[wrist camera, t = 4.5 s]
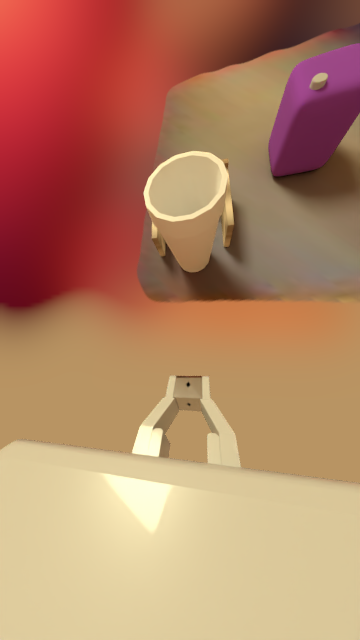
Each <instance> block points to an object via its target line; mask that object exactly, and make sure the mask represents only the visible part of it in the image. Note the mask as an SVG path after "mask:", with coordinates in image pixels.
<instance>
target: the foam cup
mask: <svg viewBox="0 0 360 640" xmlns="http://www.w3.org/2000/svg"><path fill="white" fill-rule="evenodd" d="M227 183H228V173H227V170H226V168H225V165H224V163H223V161H222V160H220V159H219V158H217V157H216V156H214V155H213V154H211V153H207V152H198V151H191V152H187V153H183V154H179V155H175V156H173V157H172V158H170V159H169V160H167V161H165V162H164V163H162V164H160V165H159V166H158V168H157V169H156V170H155V171H154V172H153V173H152V175H151V176H150V177H149V178H148V181H147V184H146V187H145V190H144V198H145V203H146V207H147V210H148V212H149V215H150V217H151V219H152V222H153V224H154V225H155V226H156V227H157V228H158V230H159V231H160V233H161V235H162V236H163V238H164V240H165V241H166V243H167V245H168V246H169V248H170V250H171V252H172V253H173V255H174V257H175V258H176V260H177V262H178V263H179V265H180V266H181V267H182V268H183V270H185V271H188V272H198V271H200V270H202V269H204V268H205V266H206V265H207V264H208V262H209V258H210V254H211V250H212V246H213V242H214V238H215V234H216V230H217V226H218V222H219V217H220V216H221V215H222V212H223V208H224V203H225V198H226V191H227Z"/></svg>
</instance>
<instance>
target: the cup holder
mask: <svg viewBox="0 0 360 640" xmlns="http://www.w3.org/2000/svg"><path fill="white" fill-rule="evenodd" d="M222 161H223V163H224V165H225V168H226V170H227V173H228V158H227V159H223V160H222ZM221 222H222V233H223V244H224V247H229V245H230V241H231V236H232V232H233V228H234V218H233V209H232V200H231V191H230V182H229V173H228V183H227V191H226V198H225V203H224V208H223V212H222V215H221ZM152 240H153V242H154V244H155V246H156V248H157V250H158V252H159V254H160V256H165V240H164V238H163V236H162V235H161V233H160V231H159V230H158V228H157V227H156V226H155V225H154V224H153V222H152Z"/></svg>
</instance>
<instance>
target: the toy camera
mask: <svg viewBox="0 0 360 640" xmlns="http://www.w3.org/2000/svg"><path fill="white" fill-rule="evenodd" d="M359 113H360V43H359V44H353V45H349V46H346V47H342V48H339V49H336V50H333V51H330V52H327V53H324V54H321V55H318V56H315V57H312V58H309V59H307V60H304V61H302V62H300V63H299V64H298V65H296V67H295V68H294V69H293V71H292V73H291V75H290V77H289V79H288V82H287V85H286V88H285V91H284V94H283V97H282V101H281V104H280V107H279V110H278V113H277V117H276V120H275V123H274V126H273V130H272V133H271V137H270V140H269V157H270V165H271V171H272V174H273V175H274V176H285V175H290V174H295V173H300V172H306V171H311V170H315V169H318V168H320V167H322V166H323V165H324V164H325V163H326V162H327V161H328V159H329V158H330V157H331V155H332V154H333V152H334V151H335V149H336V148H337V146H338V145H339V143H340V142H341V140H342V139H343V137H344V136H345V134H346V133H347V131H348V130H349V128H350V126H351V125H352V123H353V122H354V120H355V119H356V117H357V116H358V114H359Z"/></svg>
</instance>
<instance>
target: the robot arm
mask: <svg viewBox="0 0 360 640" xmlns="http://www.w3.org/2000/svg"><path fill="white" fill-rule="evenodd" d="M179 410H192V411H202V414H203V415H204V418H205V420H206V422H207V423H208V425H209V428H210V430H211V432H212V433H209V434H208V435H207V448H208V463H203V462H195V461H188V460H179V459H172V458H168V457H169V449H170V443H169V441H168V439H167V437H166V435H165V433H166V432H167V430H168V428H169V427H170V425H171V423H172V422H173V420H174V418H175V417H176V415H177V413H178V412H179ZM0 640H360V483H355V482H348V481H340V480H333V479H325V478H317V477H309V476H302V475H294V474H287V473H278V472H271V471H264V470H256V469H249V468H241V466H240V459H239V454H238V448H237V442H236V436H235V434H234V432H233V430H232V429H231V427H230V426H229V424H228V423H227V421H226V420H225V418H224V417H223V415H222V413H221V412H220V410H219V409H218V407H217V406H216V404H215V403H214V401H213V400H212V399H210V384H209V376H170V378H169V383H168V387H167V392H166V397H163V399H162V400H161V401H160V402H159V403H158V405H157V406H156V407H155V408H154V410H153V411H152V412H151V413H150V415H149V416H148V417H147V418H146V419H145V421H144V422H143V423H142V424H141V425H140V428H139V431H138V435H137V438H136V441H135V445H134V448H133V451H132V453H126V452H119V451H111V450H103V449H96V448H88V447H81V446H73V445H65V444H57V443H50V442H42V441H35V440H27V439H18V440H16V441H14V442H12V443H10V444H9V445H7V446H6V447H4V448H3V449H1V450H0Z"/></svg>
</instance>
